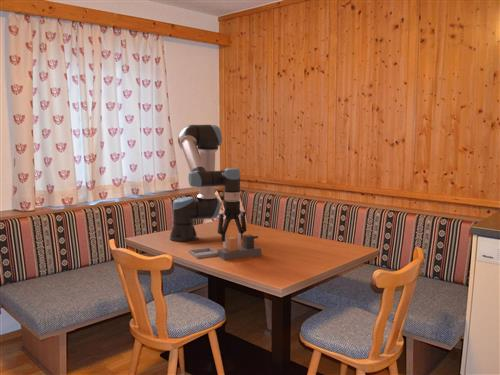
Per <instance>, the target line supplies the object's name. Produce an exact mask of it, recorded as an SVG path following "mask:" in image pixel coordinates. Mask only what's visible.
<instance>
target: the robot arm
mask: <svg viewBox="0 0 500 375" xmlns="http://www.w3.org/2000/svg"><path fill="white" fill-rule="evenodd" d="M222 142H223V136H222V132H221V129H220V127H219V126H218V125H216V124H190V125H189V124H188V125H187V126H185V127H183V129H181V131H180V132H179V134H178V137H177V143H178V146H179V148H180V149H181V150H182V152H183V154H184V155H183V156H184V157H185V160H186V163H187V166H188V168H189V173H188V178H187V179H188V183H189V184H188V185H189V186H190V187H192V188H199V189H198V190H199V193H198V194H197V195H196V198H195V199H194V197H193V196H185V197H179V198H176V199H174V201H172V208H171V209H172V228H171V232H170V235H169V240H171V241H174V242H192V241H194V240H196V239H197V238H198V236H197V231H196V228H195V225H194V221H195V220H212V219H216V218H218V225H217V233H218V234H219V235H221V242H222V248H225V249H227V237H228V235H227V231H228V228H229V225H230V222H231V221H233V220H234V221H235V225H236V227H237V231H238V232H236V235H237V236H236V238H238V246H239V247H241V246H242V241H243V235H244V234H245V232H247V224H246V222H247V221H246V215H247V213H246V211H243V210H241V170H240V169H239V168H237V167H228V168H225V169H220V170H216V153H217V151H218V150H219V147H221V145H222ZM215 187H224V198H223V199H224V200H225V201H224V211H223V212H221V213H220V211H221V200H220V199H219V197H218V195H217V194H216V193H215ZM239 216H240V218H239Z"/></svg>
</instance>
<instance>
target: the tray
mask: <svg viewBox="0 0 500 375" xmlns="http://www.w3.org/2000/svg"><path fill="white" fill-rule="evenodd" d="M188 253H189V255H191V256H192V257H194V258H195V259H204V258H210V257H212V258H214V257H218V251H217V250H215V249H213V248H211V247H209V246H208V247H202V248H195V249H193V248H192V249H189V250H188Z"/></svg>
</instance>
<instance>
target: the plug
mask: <svg viewBox="0 0 500 375" xmlns="http://www.w3.org/2000/svg"><path fill="white" fill-rule="evenodd" d="M227 251H229V252H231V251H238V238H237V236H227Z"/></svg>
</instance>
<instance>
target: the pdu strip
mask: <svg viewBox="0 0 500 375" xmlns="http://www.w3.org/2000/svg"><path fill="white" fill-rule="evenodd" d="M255 239H259V236H258V235H252V234H243V239H242V245H241V247H239V246H238V251H231V252H229V251H227V249H225V248H223V247H222V248H217V252H218V256H217V257H218V258H220V259H221V260H223V261H228V260H237V259H243V258H244V259H245V258H251V257H253V258H257V257H262V248H261V247H260V246H257V245H255Z"/></svg>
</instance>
